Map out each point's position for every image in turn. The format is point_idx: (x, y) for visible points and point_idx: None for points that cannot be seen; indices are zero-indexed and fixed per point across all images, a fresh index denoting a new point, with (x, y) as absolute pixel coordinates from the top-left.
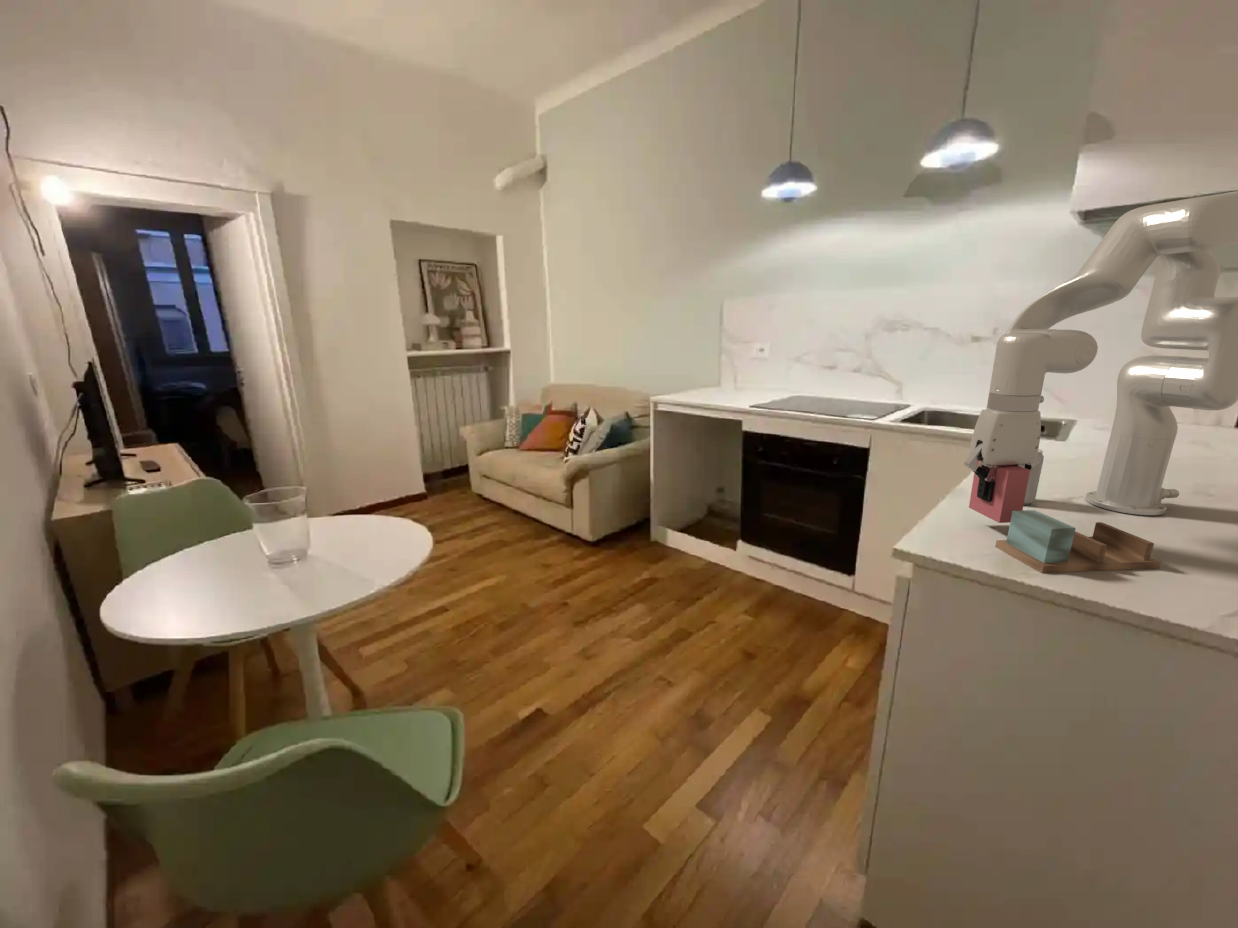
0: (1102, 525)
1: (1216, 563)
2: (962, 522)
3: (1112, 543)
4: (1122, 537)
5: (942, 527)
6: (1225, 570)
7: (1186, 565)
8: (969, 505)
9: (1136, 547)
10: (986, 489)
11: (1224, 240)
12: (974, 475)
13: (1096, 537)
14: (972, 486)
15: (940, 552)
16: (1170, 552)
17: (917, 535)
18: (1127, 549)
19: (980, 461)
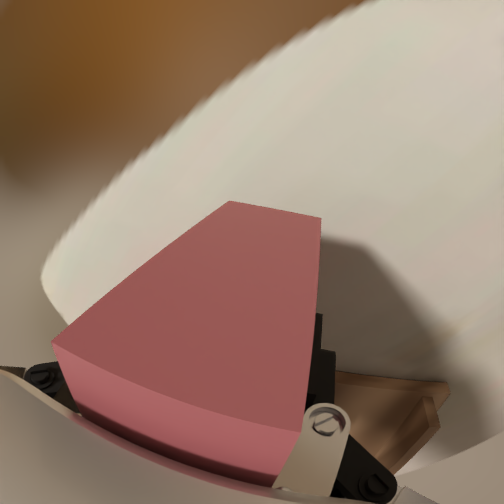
0: (420, 436)
1: (475, 441)
2: (236, 182)
3: (401, 430)
4: (396, 454)
5: (145, 203)
6: (455, 453)
7: (438, 445)
8: (226, 204)
9: (382, 462)
10: None
11: None
12: (146, 267)
13: (418, 406)
14: (186, 234)
15: (78, 312)
16: (480, 417)
17: (70, 234)
18: (387, 447)
19: (72, 380)
